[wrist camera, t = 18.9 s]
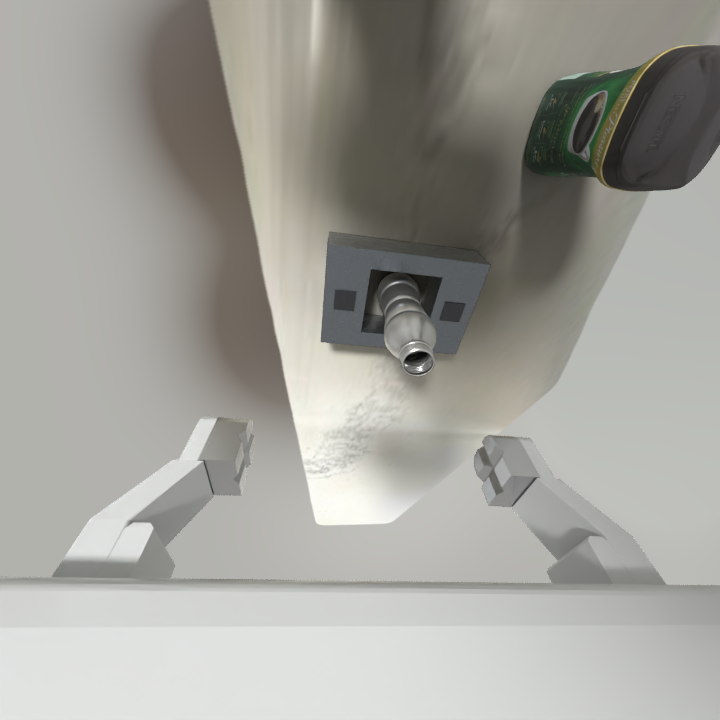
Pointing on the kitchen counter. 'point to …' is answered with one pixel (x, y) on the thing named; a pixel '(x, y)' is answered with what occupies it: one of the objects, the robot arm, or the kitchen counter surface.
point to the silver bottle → (407, 324)
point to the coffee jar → (632, 122)
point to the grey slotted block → (442, 264)
